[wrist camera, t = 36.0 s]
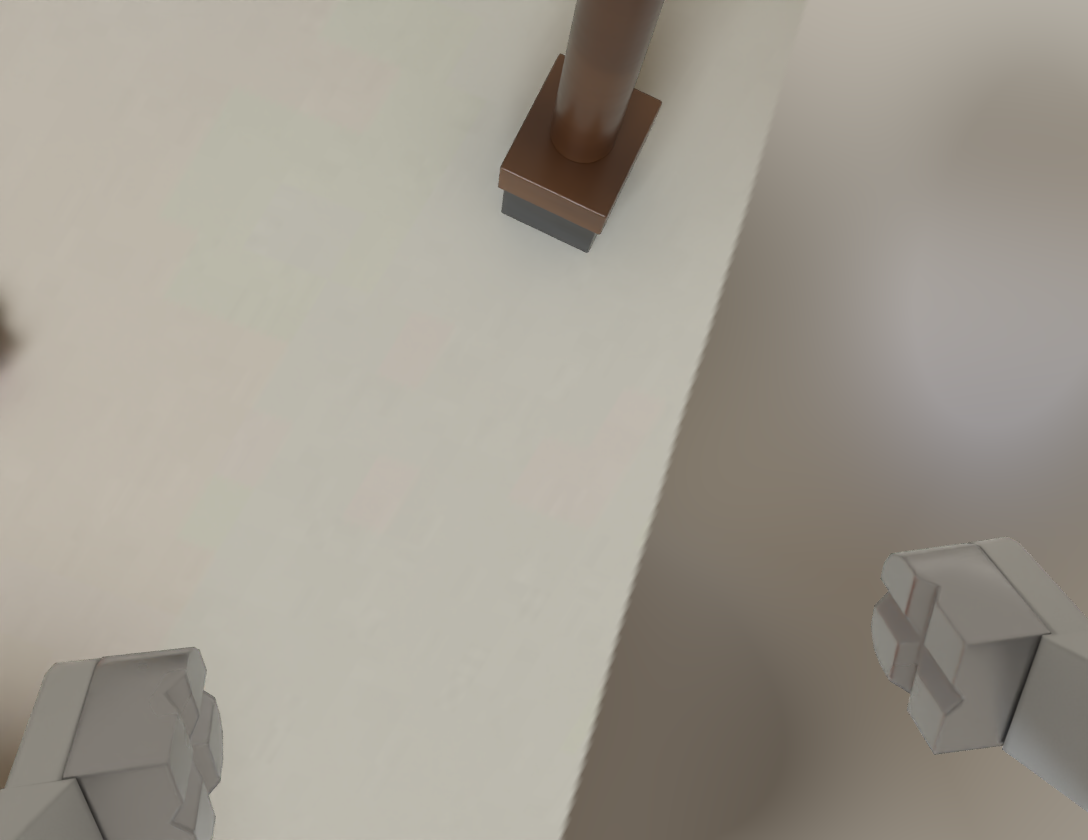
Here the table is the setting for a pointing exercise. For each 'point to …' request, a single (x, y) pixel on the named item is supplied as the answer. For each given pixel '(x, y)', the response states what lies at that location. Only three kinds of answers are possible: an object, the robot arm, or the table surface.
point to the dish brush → (584, 125)
